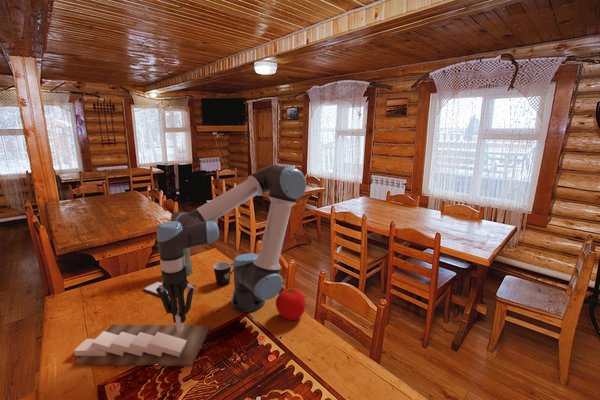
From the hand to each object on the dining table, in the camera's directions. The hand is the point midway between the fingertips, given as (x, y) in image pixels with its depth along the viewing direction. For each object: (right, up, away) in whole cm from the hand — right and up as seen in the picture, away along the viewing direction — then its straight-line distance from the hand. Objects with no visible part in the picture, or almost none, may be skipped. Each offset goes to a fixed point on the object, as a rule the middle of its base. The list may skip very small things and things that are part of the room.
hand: (180, 329), depth 105 cm
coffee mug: (+4, +2, +51) cm, 51 cm away
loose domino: (0, -7, +2) cm, 8 cm away
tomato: (+38, -4, +23) cm, 44 cm away
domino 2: (-20, -7, +2) cm, 21 cm away
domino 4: (-6, -7, +2) cm, 10 cm away
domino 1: (-26, -7, +2) cm, 27 cm away
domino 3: (-13, -7, +2) cm, 15 cm away
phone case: (-27, 0, +44) cm, 52 cm away
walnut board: (-14, -8, +6) cm, 18 cm away
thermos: (-22, +5, +61) cm, 65 cm away
